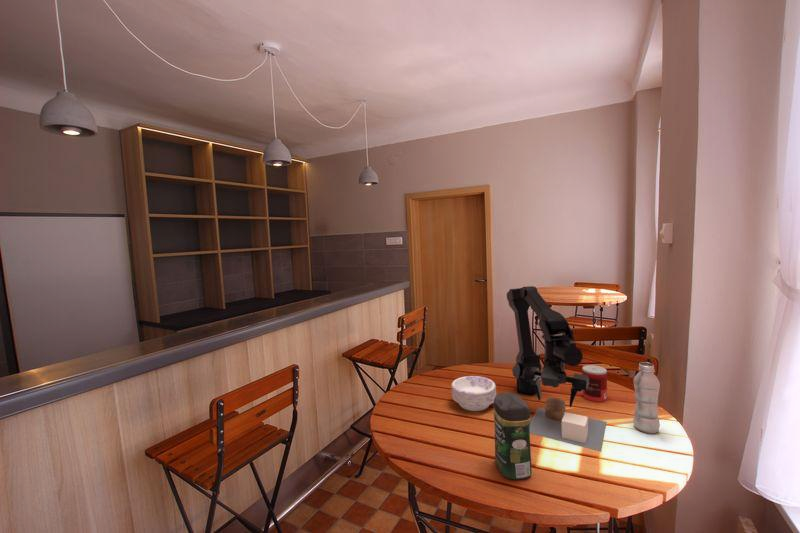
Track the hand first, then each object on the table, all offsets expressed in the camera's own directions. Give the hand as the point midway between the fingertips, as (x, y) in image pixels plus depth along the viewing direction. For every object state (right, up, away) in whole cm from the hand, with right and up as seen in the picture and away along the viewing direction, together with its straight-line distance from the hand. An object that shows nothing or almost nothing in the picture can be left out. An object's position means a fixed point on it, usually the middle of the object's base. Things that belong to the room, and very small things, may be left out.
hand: (554, 403), depth 114 cm
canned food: (+20, -4, +12) cm, 23 cm away
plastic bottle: (+23, -5, -9) cm, 25 cm away
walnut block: (0, -4, 0) cm, 4 cm away
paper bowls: (-23, -5, +12) cm, 27 cm away
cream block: (+1, -5, -11) cm, 12 cm away
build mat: (+1, -5, -6) cm, 8 cm away
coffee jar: (-21, -8, -24) cm, 33 cm away
